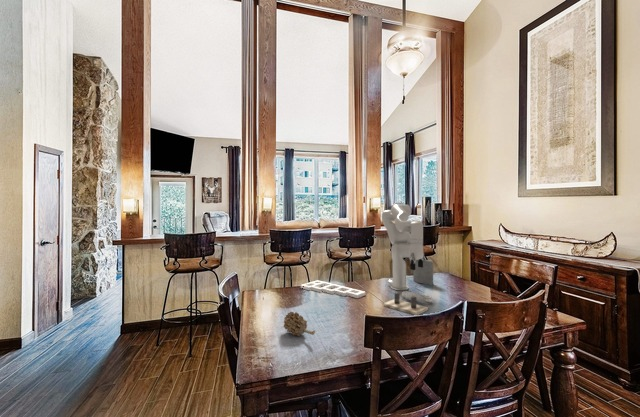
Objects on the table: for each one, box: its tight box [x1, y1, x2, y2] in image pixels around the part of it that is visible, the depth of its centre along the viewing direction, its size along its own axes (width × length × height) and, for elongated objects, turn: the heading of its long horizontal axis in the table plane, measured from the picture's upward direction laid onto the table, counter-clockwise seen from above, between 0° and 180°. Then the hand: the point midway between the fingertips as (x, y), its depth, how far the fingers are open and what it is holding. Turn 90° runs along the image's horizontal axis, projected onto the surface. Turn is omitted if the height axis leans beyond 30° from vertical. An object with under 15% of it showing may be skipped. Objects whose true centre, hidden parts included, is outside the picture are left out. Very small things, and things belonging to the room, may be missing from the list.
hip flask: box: [412, 256, 434, 286], centre depth 233 cm, size 16×4×20 cm, turn 43°
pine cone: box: [283, 311, 316, 337], centre depth 143 cm, size 22×10×10 cm, turn 47°
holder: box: [300, 280, 366, 299], centre depth 213 cm, size 45×18×3 cm, turn 46°
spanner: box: [401, 290, 433, 305], centre depth 193 cm, size 20×4×4 cm, turn 44°
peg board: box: [383, 292, 429, 316], centre depth 179 cm, size 22×12×8 cm, turn 44°
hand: (416, 268), depth 192 cm, fingers open, 9 cm apart
